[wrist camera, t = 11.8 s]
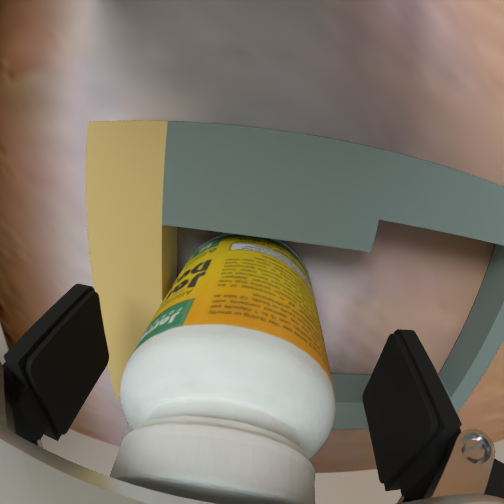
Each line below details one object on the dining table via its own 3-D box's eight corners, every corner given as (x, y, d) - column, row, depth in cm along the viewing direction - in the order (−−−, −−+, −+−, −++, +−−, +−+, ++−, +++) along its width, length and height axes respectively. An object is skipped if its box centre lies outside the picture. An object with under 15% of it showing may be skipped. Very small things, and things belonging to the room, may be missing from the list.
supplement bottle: (272, 354, 14) (264, 554, 5) (167, 308, 14) (74, 497, 5) (335, 262, 12) (414, 491, 3) (214, 202, 12) (73, 401, 3)
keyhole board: (527, 196, 10) (552, 208, 8) (441, 398, 15) (451, 421, 13) (114, 121, 11) (87, 121, 9) (128, 372, 16) (115, 397, 14)
